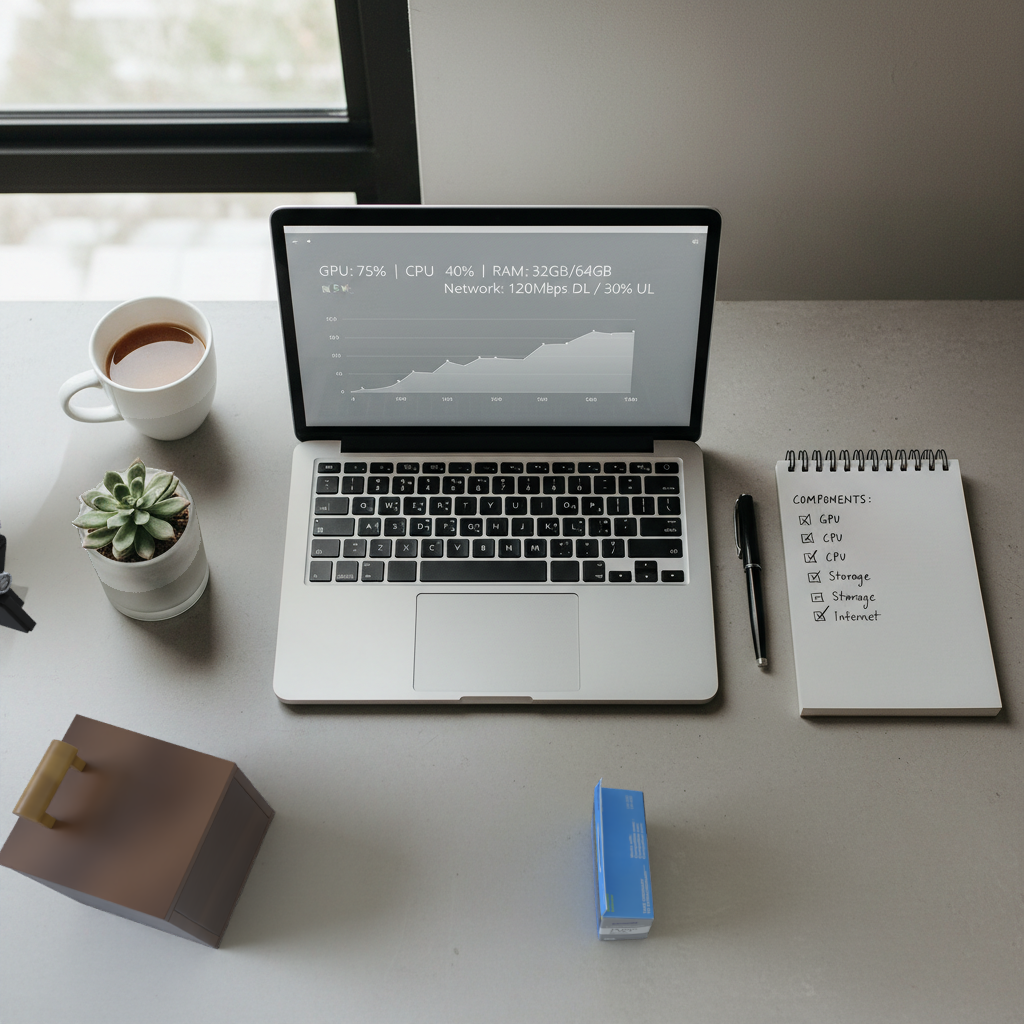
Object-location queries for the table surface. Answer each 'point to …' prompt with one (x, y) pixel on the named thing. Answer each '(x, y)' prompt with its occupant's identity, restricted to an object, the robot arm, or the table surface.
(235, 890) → the chest
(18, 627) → the robot arm
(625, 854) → the label tape box
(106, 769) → the chest lid
